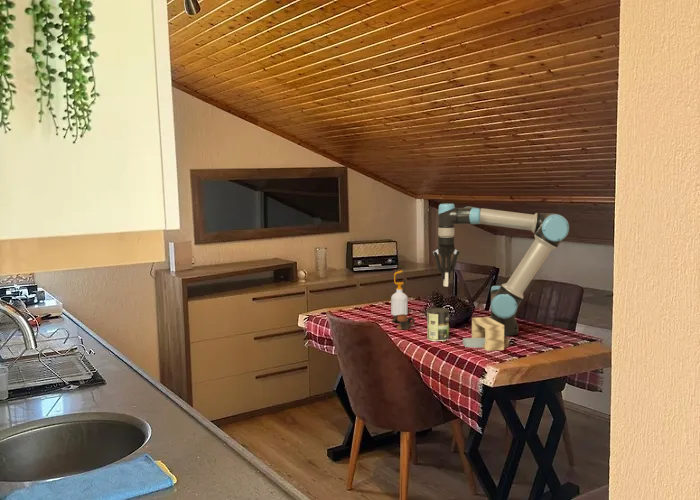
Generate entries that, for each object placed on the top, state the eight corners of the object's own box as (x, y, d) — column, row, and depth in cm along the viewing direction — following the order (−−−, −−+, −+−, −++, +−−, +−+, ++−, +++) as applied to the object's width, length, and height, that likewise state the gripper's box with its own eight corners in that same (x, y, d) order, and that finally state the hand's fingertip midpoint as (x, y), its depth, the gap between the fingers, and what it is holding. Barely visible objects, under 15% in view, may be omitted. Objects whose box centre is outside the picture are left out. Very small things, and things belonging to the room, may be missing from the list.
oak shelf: (495, 339, 315) (496, 316, 313) (512, 349, 297) (512, 324, 296) (471, 341, 312) (471, 317, 311) (486, 350, 295) (487, 326, 293)
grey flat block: (493, 344, 308) (493, 337, 308) (496, 348, 301) (497, 341, 301) (462, 344, 308) (462, 338, 307) (465, 348, 301) (465, 341, 300)
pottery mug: (391, 331, 335) (389, 315, 338) (396, 335, 343) (393, 320, 347) (415, 326, 332) (412, 310, 336) (418, 330, 341) (416, 315, 344)
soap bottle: (408, 316, 368) (408, 271, 365) (391, 316, 368) (391, 271, 365) (407, 312, 377) (407, 269, 374) (390, 313, 377) (390, 269, 374)
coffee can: (449, 337, 320) (449, 307, 319) (448, 342, 310) (448, 312, 309) (427, 336, 322) (428, 307, 321) (426, 341, 312) (426, 311, 311)
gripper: (456, 235, 321) (456, 284, 323) (430, 236, 318) (430, 285, 321) (462, 236, 314) (461, 286, 316) (435, 237, 311) (435, 287, 314)
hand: (445, 286), depth 319 cm, fingers closed
